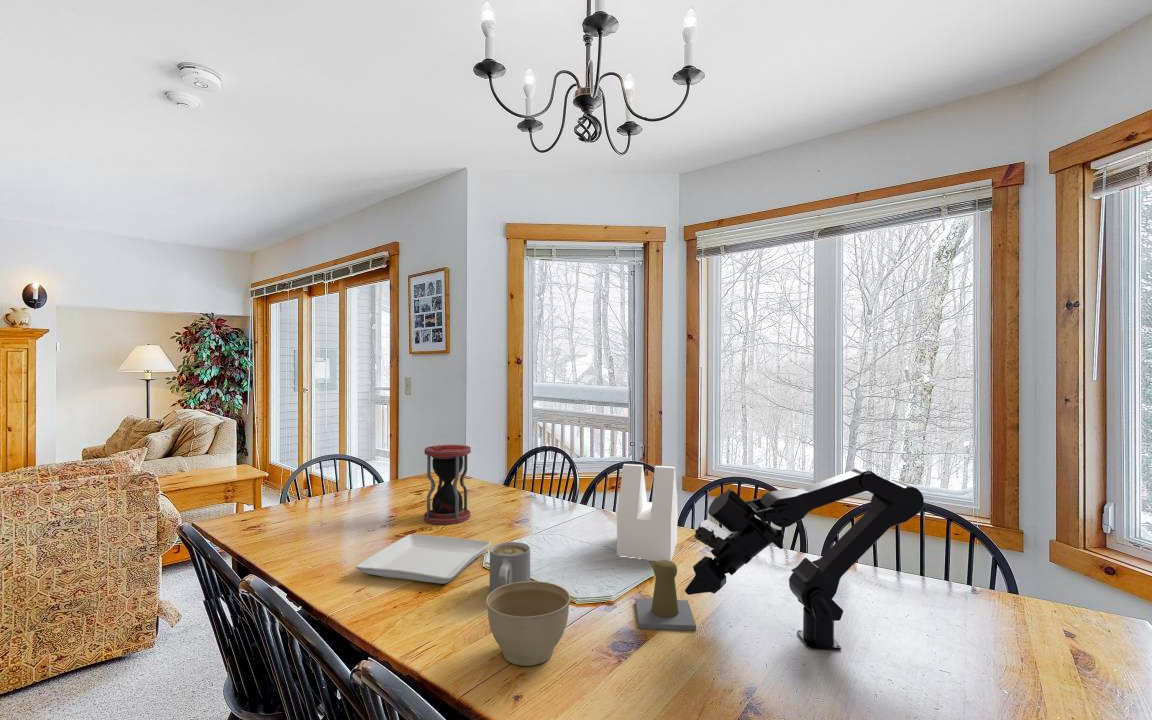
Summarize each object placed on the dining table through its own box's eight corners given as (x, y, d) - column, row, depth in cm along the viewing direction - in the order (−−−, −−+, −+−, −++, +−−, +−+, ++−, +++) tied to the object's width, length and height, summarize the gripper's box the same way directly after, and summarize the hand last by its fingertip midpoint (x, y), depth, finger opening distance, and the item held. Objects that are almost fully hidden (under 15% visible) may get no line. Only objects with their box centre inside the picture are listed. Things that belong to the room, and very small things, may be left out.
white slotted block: (670, 563, 152) (671, 473, 152) (616, 557, 156) (617, 470, 156) (677, 541, 170) (677, 461, 170) (628, 536, 174) (629, 458, 174)
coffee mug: (499, 578, 140) (500, 540, 140) (535, 583, 137) (536, 544, 137) (475, 600, 127) (476, 558, 127) (515, 606, 124) (515, 563, 124)
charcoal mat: (696, 630, 114) (696, 625, 114) (638, 628, 114) (638, 623, 114) (687, 604, 126) (687, 600, 126) (635, 602, 126) (635, 598, 126)
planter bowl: (585, 645, 107) (585, 591, 107) (538, 688, 93) (539, 625, 93) (519, 625, 115) (520, 574, 115) (468, 661, 102) (468, 603, 102)
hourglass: (457, 509, 204) (457, 442, 204) (478, 519, 191) (479, 448, 191) (416, 516, 193) (416, 447, 193) (436, 528, 181) (436, 453, 181)
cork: (680, 618, 117) (680, 567, 117) (652, 617, 117) (652, 566, 117) (677, 605, 123) (677, 557, 123) (650, 604, 123) (650, 556, 123)
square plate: (352, 580, 139) (353, 565, 139) (409, 545, 166) (410, 532, 166) (449, 591, 133) (449, 575, 133) (492, 553, 159) (492, 539, 159)
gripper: (732, 501, 121) (685, 541, 127) (703, 522, 106) (651, 566, 112) (768, 542, 117) (718, 582, 123) (743, 571, 101) (687, 614, 107)
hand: (694, 584), depth 116 cm, fingers open, 9 cm apart
